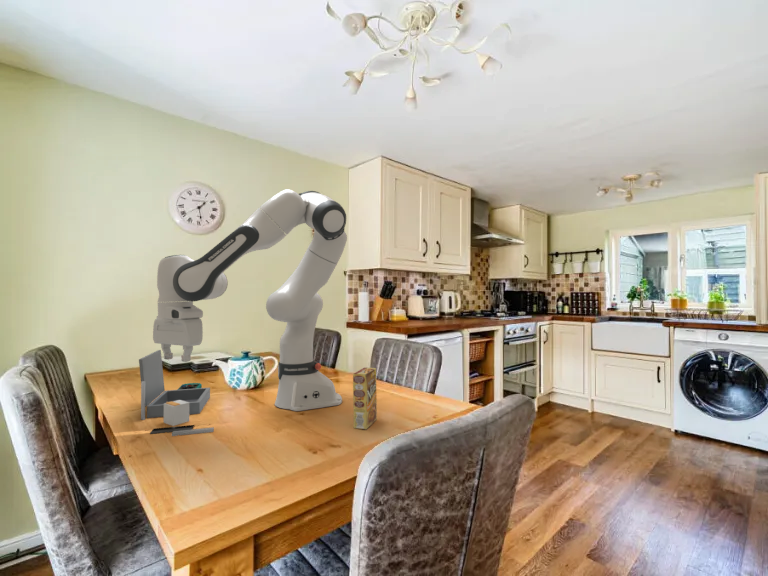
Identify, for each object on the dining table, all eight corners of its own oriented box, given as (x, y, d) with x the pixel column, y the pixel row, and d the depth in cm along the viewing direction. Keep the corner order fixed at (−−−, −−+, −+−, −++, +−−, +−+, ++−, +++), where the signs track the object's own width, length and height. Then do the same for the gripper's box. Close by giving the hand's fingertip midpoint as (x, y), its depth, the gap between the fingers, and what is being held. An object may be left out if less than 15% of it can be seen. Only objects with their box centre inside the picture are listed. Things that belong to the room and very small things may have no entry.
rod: (213, 431, 101) (213, 427, 101) (213, 433, 100) (213, 428, 100) (172, 435, 98) (172, 431, 98) (171, 437, 97) (171, 432, 97)
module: (189, 423, 105) (189, 401, 105) (173, 428, 101) (173, 405, 101) (179, 420, 108) (179, 399, 108) (163, 425, 104) (163, 403, 104)
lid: (160, 349, 125) (156, 350, 125) (141, 359, 108) (137, 359, 107) (164, 390, 125) (160, 391, 125) (146, 406, 108) (141, 407, 108)
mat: (198, 418, 111) (198, 416, 111) (191, 430, 101) (191, 428, 101) (161, 421, 108) (161, 420, 108) (150, 434, 98) (150, 432, 98)
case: (210, 400, 129) (210, 366, 129) (198, 418, 110) (198, 378, 110) (161, 404, 125) (161, 368, 125) (140, 423, 106) (140, 382, 106)
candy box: (366, 430, 101) (366, 374, 101) (352, 428, 102) (352, 373, 102) (377, 419, 109) (377, 367, 109) (363, 418, 110) (363, 366, 111)
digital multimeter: (202, 389, 146) (202, 381, 146) (194, 399, 132) (194, 391, 132) (181, 390, 144) (181, 383, 144) (171, 401, 130) (171, 393, 130)
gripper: (146, 312, 108) (147, 359, 108) (183, 312, 97) (185, 364, 97) (168, 311, 114) (169, 356, 114) (206, 311, 103) (207, 360, 102)
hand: (177, 360), depth 105 cm, fingers open, 8 cm apart
